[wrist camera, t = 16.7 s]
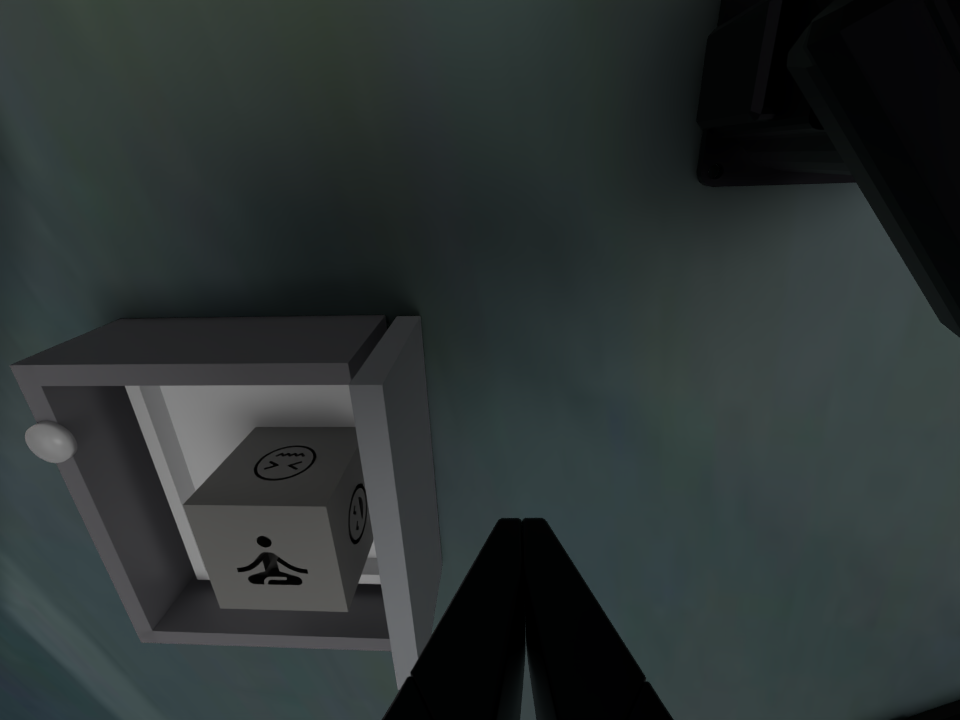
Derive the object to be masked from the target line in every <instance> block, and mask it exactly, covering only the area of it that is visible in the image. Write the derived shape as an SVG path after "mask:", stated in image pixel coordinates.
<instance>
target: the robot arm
mask: <svg viewBox="0 0 960 720" xmlns="http://www.w3.org/2000/svg"><path fill="white" fill-rule="evenodd" d="M697 123H698V124H699V126H700V127H701V128H702V129H703V133H702V140H701V147H700V154H699V161H698V169H697V178H698V180H699V182H700V183H702V184H703V185H706V186H712V187H723V186H755V185H788V184H820V183H853V182H856V183H857V184H858V186H859V188H860V189H861V191H862V193H863V194H864V196H865V198H866V199H867V201H868V203H869V204H870V206H871V208H872V209H873V211H874V213H875V214H876V216H877V218H878V219H879V221H880V223H881V224H882V226H883V228H884V229H885V231H886V233H887V234H888V236H889V237H890V239H891V241H892V242H893V244H894V246H895V247H896V249H897V251H898V252H899V254H900V256H901V257H902V259H903V261H904V262H905V264H906V266H907V267H908V269H909V271H910V272H911V274H912V276H913V277H914V279H915V281H916V282H917V284H918V286H919V287H920V289H921V291H922V292H923V294H924V296H925V297H926V299H927V301H928V302H929V304H930V306H931V307H932V309H933V310H934V312H935V314H936V315H937V317H938V319H939V320H940V322H941V323H942V324H943V325H945V326H946V327H947V328H948V329H950V330H951V331H952V332H953V333H955V334H956V335H957V336H958V337H960V0H721V5H720V13H719V20H718V27H717V28H716V29H715V30H714V31H713V32H712V33H711V34H710V35H709V36H708V39H707V46H706V53H705V61H704V68H703V76H702V83H701V90H700V98H699V105H698V113H697ZM714 164H717V166H718V167H719V172H718V175H717V176H716V177H715V178H712V179H711V178H710V177H709V173H708V171H709V169H710V167H711V166H712V165H714ZM524 601H525V602H524ZM525 627H526V646H527V656H528V665H529V672H530V678H531V685H532V692H533V699H534V706H535V713H536V720H674V719H673V718H672V716H671V715H670V714H669V712H668V711H667V709H666V708H665V706H664V704H663V703H662V701H661V700H660V698H659V697H658V695H657V693H656V692H655V690H654V689H653V687H652V686H651V684H650V683H649V682H648V681H646V677H645V675H644V674H643V672H642V670H641V669H640V667H639V666H638V664H637V663H636V661H635V659H634V658H633V656H632V655H631V653H630V652H629V650H628V648H627V647H626V645H625V644H624V642H623V641H622V639H621V637H620V636H619V634H618V633H617V631H616V630H615V628H614V626H613V625H612V623H611V622H610V620H609V619H608V617H607V615H606V614H605V612H604V611H603V609H602V608H601V606H600V604H599V603H598V601H597V600H596V598H595V597H594V595H593V593H592V592H591V590H590V589H589V587H588V586H587V584H586V582H585V581H584V579H583V578H582V576H581V575H580V573H579V571H578V570H577V568H576V567H575V565H574V564H573V562H572V560H571V559H570V557H569V556H568V554H567V553H566V551H565V549H564V548H563V546H562V545H561V543H560V542H559V540H558V539H557V537H556V535H555V534H554V532H553V531H552V529H551V528H550V526H549V524H548V523H547V521H546V520H545V519H543V518H524V519H523V520H522V521H521V519H519V518H501V519H499V520H498V522H497V523H496V525H495V527H494V528H493V530H492V532H491V533H490V535H489V537H488V539H487V540H486V542H485V544H484V546H483V547H482V549H481V551H480V552H479V554H478V556H477V558H476V559H475V561H474V563H473V565H472V566H471V568H470V570H469V571H468V573H467V575H466V577H465V578H464V580H463V582H462V584H461V585H460V587H459V589H458V591H457V592H456V594H455V596H454V597H453V599H452V601H451V603H450V604H449V606H448V608H447V610H446V611H445V613H444V615H443V616H442V618H441V620H440V622H439V623H438V625H437V627H436V629H435V630H434V632H433V634H432V635H431V637H430V639H429V641H428V642H427V644H426V646H425V648H424V649H423V651H422V653H421V654H420V656H419V658H418V660H417V661H416V663H415V665H414V667H413V668H412V670H411V672H410V675H411V676H408V677H407V678H406V680H405V682H404V683H403V685H402V687H401V689H400V690H399V692H398V694H397V696H396V697H395V699H394V701H393V702H392V704H391V706H390V707H389V709H388V710H387V712H386V714H385V715H384V717H383V718H382V720H520V714H521V702H522V690H523V678H524V666H525Z"/></svg>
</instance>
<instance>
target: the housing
mask: <svg viewBox="0 0 960 720" xmlns="http://www.w3.org/2000/svg"><path fill="white" fill-rule="evenodd" d="M386 331H387V324H386V315H342V316H269V317H196V318H123V319H119V320H116V321H114V322H111V323H109V324H107V325H104V326H102V327H99V328H97V329H95V330H92V331H90V332H88V333H85V334H83V335H80V336H78V337H76V338H73V339H71V340H68V341H66V342H64V343H61V344H59V345H57V346H54V347H52V348H49V349H47V350H45V351H42V352H40V353H37V354H35V355H33V356H30V357H28V358H26V359H23V360H21V361H18V362H16V363H14V364H11V365H10V367H11V369H12V372H13V374H14V376H15V378H16V380H17V382H18V384H19V386H20V388H21V390H22V393H23V395H24V397H25V399H26V401H27V403H28V405H29V407H30V409H31V412H32V414H33V416H34V418H35V420H36V422H37V424H35V425H34V426H32V427H30V428H29V429H28V430H27V431H26V434H25V440H26V443H27V445H28V447H29V448H30V450H31V451H32V452H33V453H34V454H35V455H37V456H38V457H40V458H41V459H43V460H45V461H48V462H52V463H56V464H57V466H58V468H59V470H60V473H61V475H62V477H63V479H64V481H65V483H66V485H67V487H68V489H69V491H70V494H71V496H72V498H73V500H74V502H75V504H76V506H77V508H78V510H79V512H80V515H81V517H82V519H83V521H84V523H85V525H86V527H87V529H88V531H89V534H90V536H91V538H92V540H93V542H94V544H95V546H96V548H97V550H98V552H99V555H100V557H101V559H102V561H103V563H104V565H105V567H106V569H107V571H108V573H109V576H110V578H111V580H112V582H113V584H114V586H115V588H116V590H117V592H118V595H119V597H120V599H121V601H122V603H123V605H124V607H125V609H126V611H127V613H128V616H129V618H130V620H131V622H132V624H133V626H134V628H135V630H136V632H137V634H138V637H139V639H140V641H141V643H169V644H198V645H227V646H256V647H285V648H314V649H343V650H372V651H392V650H391V644H390V637H389V631H388V625H387V619H386V613H385V607H384V600H383V594H382V588H381V584H358V586H357V588H356V591H355V594H354V597H353V600H352V602H351V605H350V608H349V611H348V612H330V611H294V610H258V609H223V608H220V606H219V603H218V601H217V598H216V595H215V592H214V590H213V587H212V584H211V581H210V580H197V577H196V575H195V572H194V569H193V567H192V564H191V561H190V559H189V556H188V553H187V551H186V548H185V545H184V543H183V540H182V537H181V535H180V532H179V529H178V527H177V524H176V521H175V519H174V516H173V513H172V511H171V508H170V505H169V503H168V500H167V497H166V495H165V492H164V489H163V487H162V484H161V481H160V479H159V476H158V473H157V471H156V468H155V465H154V463H153V460H152V457H151V455H150V452H149V449H148V447H147V444H146V441H145V439H144V436H143V433H142V431H141V428H140V425H139V423H138V420H137V417H136V415H135V412H134V409H133V407H132V404H131V401H130V399H129V396H128V393H127V391H126V388H125V386H206V385H349V384H350V382H351V381H352V379H353V378H354V377H355V375H356V374H357V372H358V371H359V370H360V368H361V367H362V365H363V364H364V362H365V361H366V360H367V358H368V357H369V355H370V354H371V352H372V351H373V350H374V348H375V347H376V345H377V344H378V342H379V341H380V340H381V338H382V337H383V335H384V334H385V332H386Z"/></svg>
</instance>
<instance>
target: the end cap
mask: <svg viewBox="0 0 960 720" xmlns="http://www.w3.org/2000/svg"><path fill="white" fill-rule="evenodd" d="M906 720H960V700H958V701H955V702H952V703H949V704H946V705H943V706H940V707H938V708H935V709H932V710H929V711H926V712H923V713H920V714H917V715H914V716H911V717H909V718H907V719H906Z"/></svg>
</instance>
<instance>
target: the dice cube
mask: <svg viewBox="0 0 960 720" xmlns="http://www.w3.org/2000/svg"><path fill="white" fill-rule="evenodd" d="M183 507H184V510H185V513H186V515H187V518H188V521H189V524H190V526H191V529H192V532H193V535H194V537H195V540H196V543H197V546H198V548H199V551H200V554H201V557H202V559H203V562H204V565H205V568H206V570H207V573H208V576H209V579H210V581H211V584H212V587H213V590H214V592H215V595H216V598H217V601H218V603H219V606H220V608H223V609H258V610H294V611H330V612H348V611H349V608H350V605H351V602H352V600H353V597H354V594H355V591H356V588H357V586H358V583H359V580H360V577H361V574H362V571H363V569H364V566H365V563H366V560H367V557H368V554H369V552H370V549H371V546H372V543H373V540H374V539H373V532H372V526H371V520H370V514H369V508H368V501H367V495H366V489H365V483H364V477H363V471H362V464H361V458H360V452H359V446H358V440H357V433H356V427H255V428H254V429H253V430H252V431H251V432H250V433H249V435H248V436H247V437H246V438H245V439H244V440H243V441H242V442H241V443H240V444H239V445H238V446H237V447H236V448H235V449H234V451H233V452H232V453H231V454H230V455H229V456H228V457H227V458H226V459H225V460H224V461H223V462H222V463H221V464H220V466H219V467H218V468H217V469H216V470H215V471H214V472H213V473H212V474H211V475H210V476H209V477H208V478H207V479H206V480H205V482H204V483H203V484H202V485H201V486H200V487H199V488H198V489H197V490H196V491H195V492H194V493H193V494H192V495H191V497H190V498H189V499H188V500H187V501H186V502H185V503H184V504H183Z"/></svg>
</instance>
